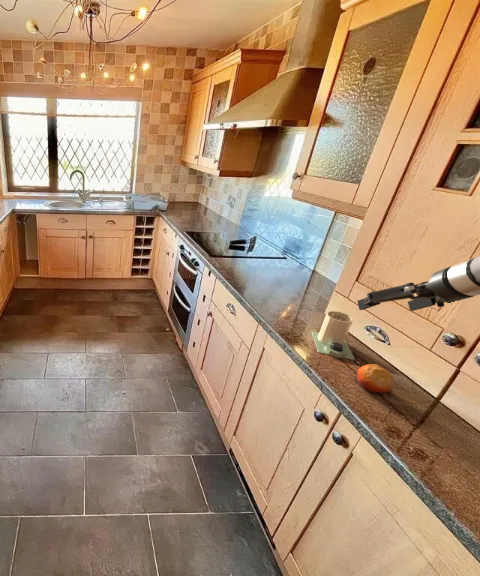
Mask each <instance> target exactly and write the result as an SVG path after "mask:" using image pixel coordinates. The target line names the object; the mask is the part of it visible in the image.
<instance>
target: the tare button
mask: <svg viewBox="0 0 480 576" xmlns="http://www.w3.org/2000/svg"><path fill="white" fill-rule="evenodd" d="M331 349H333V350H334V351H338V352H341V351H342V349H343V345H341V344H339V343H333V344H332V347H331Z"/></svg>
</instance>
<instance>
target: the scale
mask: <svg viewBox="0 0 480 576" xmlns="http://www.w3.org/2000/svg"><path fill="white" fill-rule="evenodd" d="M311 335H312V337H313V341H314V344H315V347H316V350H317V353H319V354H324V355H328V356H332V357H334V358H337V359H342V358H343V359H348V360H352V361H355V360H356V359H355V356H354V355H353V353H352V351H351V349H350V347H349V344H348V342H347V340H346V339H345V341H344V343H343V349H342V351H341V352H338V351H334V350H333V349H331V347H332V344H333V343H328V344H327V345H326V344H324V343H322V342H321V341H320V340H319V339H318V335H319V332H316V331H311Z"/></svg>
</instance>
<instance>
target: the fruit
mask: <svg viewBox="0 0 480 576" xmlns="http://www.w3.org/2000/svg"><path fill="white" fill-rule="evenodd" d="M354 380H356V381H357V382H358V384H359V385H360V387H362V388H363V389H364V390H365V391H366V392H369V393H377V394H378V393H380V394H382V393H389V392H390V391H392V388H393V387H394V383H395V378H394V377H393V376H392V374H391V372H390V371H389V370H388V369H386V368H384V367H383V366H381V365H379V364H375V363H374V364H372V363H371V364H364V365H362V366H360V367H359V368H358V370H357V373H356V378H354Z"/></svg>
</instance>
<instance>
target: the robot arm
mask: <svg viewBox="0 0 480 576" xmlns="http://www.w3.org/2000/svg"><path fill="white" fill-rule="evenodd" d="M415 294H416V296H415ZM475 296H480V255H479V256H476V257H472V258H470V259H469V258H468V259H467V260H463V261H461V262H459V263H456V264H453V265H452V266H451V265H450V266H449V267H445V268H443V269H441V270H437V271H435V272H433V274H431V276H430V278H429V280H427V281H422V282H420V283H414V282H408V283H405V284H401V285H397V286H392V287H388V288H384V289H380V290H375V291H374V290H372V291H371V292H367V293H366V297H363V298H361V299H359V300H357V301H356V302H357V306H358V310H359V311H364V310H367V309H370V308H372V307H375V306H378V305H379V306H380V305H381V303H388V302H394V301H395V302H396V301H401V300H407V299H410V300H409V301H407V304H408V308H409V312H414V311H418V310H422V309H425V308H428V307H433V306H437V308H442V307H445V303H446V304H447V303H451V302H454V303H456V302H459V301H462V300H466V299H470V298H474V297H475ZM455 301H456V302H455ZM451 304H452V303H451Z"/></svg>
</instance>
